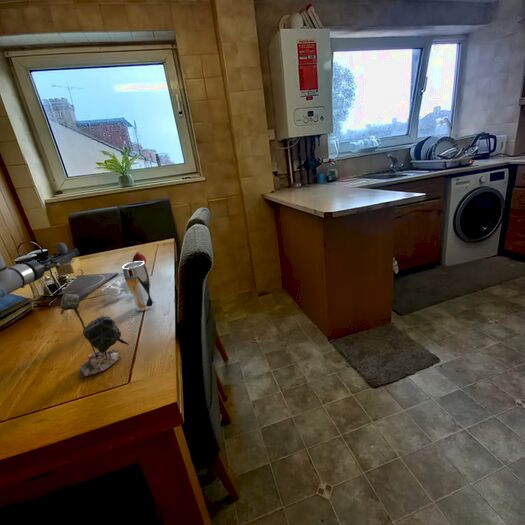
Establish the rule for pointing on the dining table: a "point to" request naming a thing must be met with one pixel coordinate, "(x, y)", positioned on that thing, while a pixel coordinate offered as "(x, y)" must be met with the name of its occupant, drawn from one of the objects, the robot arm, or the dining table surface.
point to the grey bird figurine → (96, 338)
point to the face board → (87, 283)
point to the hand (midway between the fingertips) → (74, 251)
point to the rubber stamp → (69, 266)
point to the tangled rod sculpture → (116, 288)
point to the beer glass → (139, 284)
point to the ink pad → (80, 295)
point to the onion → (139, 257)
